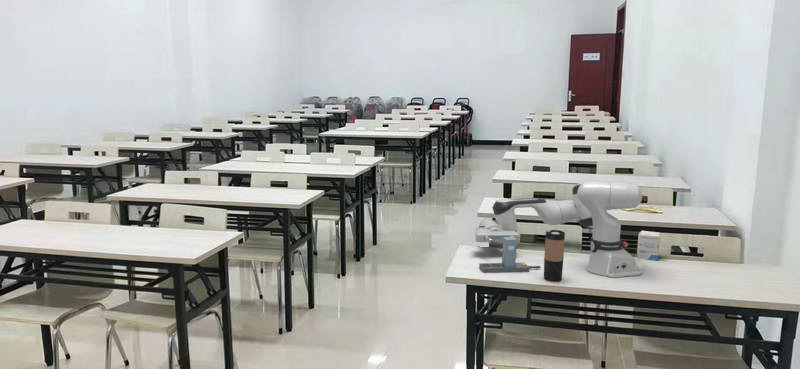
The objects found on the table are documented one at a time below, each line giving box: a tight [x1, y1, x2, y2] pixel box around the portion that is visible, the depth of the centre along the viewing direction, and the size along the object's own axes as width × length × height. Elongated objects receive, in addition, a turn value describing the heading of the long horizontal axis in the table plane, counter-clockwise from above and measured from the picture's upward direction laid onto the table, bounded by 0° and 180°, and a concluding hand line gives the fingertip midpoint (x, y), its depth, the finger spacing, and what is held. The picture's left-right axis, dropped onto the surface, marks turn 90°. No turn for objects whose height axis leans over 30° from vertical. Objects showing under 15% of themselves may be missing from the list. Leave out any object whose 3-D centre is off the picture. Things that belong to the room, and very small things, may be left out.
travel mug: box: [543, 229, 566, 283], centre depth 242 cm, size 8×8×20 cm
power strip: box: [478, 261, 541, 274], centre depth 255 cm, size 26×7×2 cm, turn 96°
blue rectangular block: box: [501, 237, 518, 267], centre depth 253 cm, size 5×5×14 cm
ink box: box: [638, 230, 661, 261], centre depth 274 cm, size 9×8×12 cm
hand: (501, 241), depth 265 cm, fingers open, 8 cm apart
